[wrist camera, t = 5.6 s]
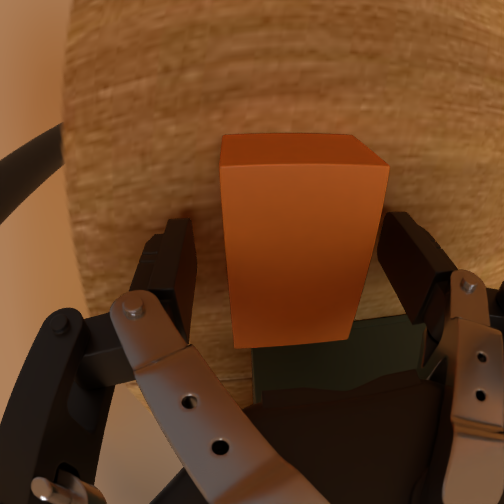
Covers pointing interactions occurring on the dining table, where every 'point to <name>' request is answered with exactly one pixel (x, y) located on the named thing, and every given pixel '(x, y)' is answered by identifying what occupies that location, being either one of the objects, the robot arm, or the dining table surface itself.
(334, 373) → the dark green box
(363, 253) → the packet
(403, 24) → the dining table surface
